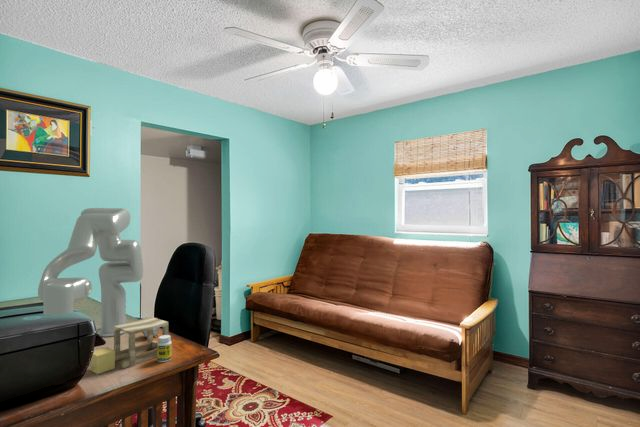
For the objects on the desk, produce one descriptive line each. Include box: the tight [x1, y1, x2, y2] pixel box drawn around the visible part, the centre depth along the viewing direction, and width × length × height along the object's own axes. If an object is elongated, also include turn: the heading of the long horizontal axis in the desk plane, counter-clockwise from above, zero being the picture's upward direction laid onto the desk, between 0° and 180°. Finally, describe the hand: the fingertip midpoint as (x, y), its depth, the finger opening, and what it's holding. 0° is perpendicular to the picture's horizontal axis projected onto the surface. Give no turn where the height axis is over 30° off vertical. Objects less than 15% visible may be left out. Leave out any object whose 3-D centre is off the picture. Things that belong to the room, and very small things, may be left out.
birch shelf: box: [113, 316, 169, 370], centre depth 127 cm, size 12×16×12 cm
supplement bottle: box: [156, 334, 173, 363], centre depth 125 cm, size 5×5×8 cm
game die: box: [141, 316, 161, 340], centre depth 149 cm, size 9×8×10 cm
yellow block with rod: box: [87, 347, 116, 375], centre depth 113 cm, size 6×17×7 cm, turn 146°
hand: (58, 381), depth 107 cm, fingers closed on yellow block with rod, 3 cm apart
